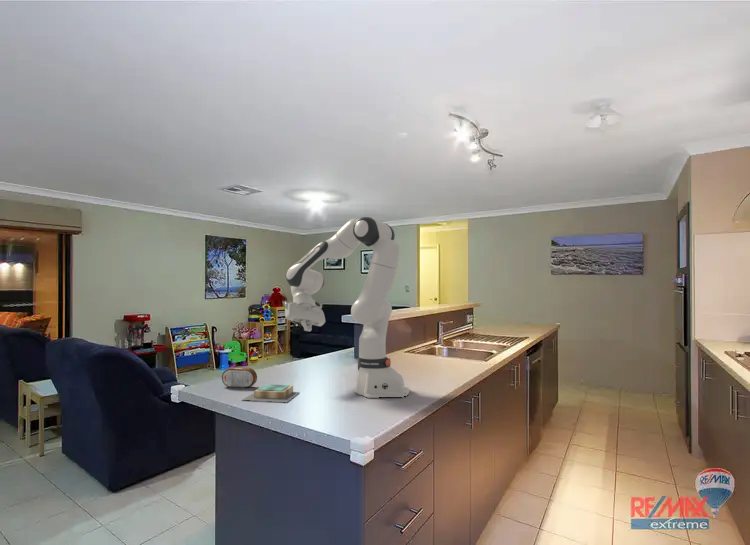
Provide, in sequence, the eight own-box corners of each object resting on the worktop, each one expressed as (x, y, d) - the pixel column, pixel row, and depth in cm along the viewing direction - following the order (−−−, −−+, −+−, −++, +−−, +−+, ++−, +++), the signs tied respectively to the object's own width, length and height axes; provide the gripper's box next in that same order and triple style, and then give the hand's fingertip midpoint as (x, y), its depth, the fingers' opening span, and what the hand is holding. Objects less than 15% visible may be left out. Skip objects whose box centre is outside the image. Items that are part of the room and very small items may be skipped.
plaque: (293, 384, 152) (283, 391, 143) (292, 391, 152) (283, 398, 142) (265, 383, 154) (254, 390, 144) (265, 390, 154) (253, 397, 144)
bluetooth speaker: (257, 386, 161) (257, 367, 161) (254, 388, 158) (254, 368, 158) (224, 385, 163) (224, 366, 163) (220, 387, 160) (220, 368, 160)
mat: (299, 393, 151) (299, 392, 151) (287, 403, 138) (287, 402, 138) (257, 391, 154) (257, 390, 154) (241, 400, 141) (241, 399, 141)
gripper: (288, 296, 165) (292, 323, 157) (324, 305, 178) (330, 330, 171) (280, 303, 168) (284, 330, 160) (316, 312, 181) (321, 337, 173)
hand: (308, 330), depth 165 cm, fingers closed
